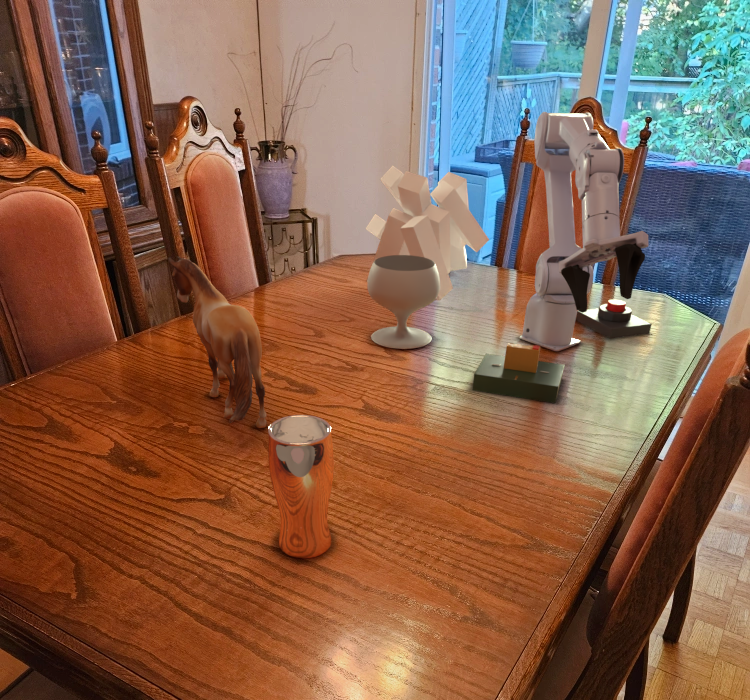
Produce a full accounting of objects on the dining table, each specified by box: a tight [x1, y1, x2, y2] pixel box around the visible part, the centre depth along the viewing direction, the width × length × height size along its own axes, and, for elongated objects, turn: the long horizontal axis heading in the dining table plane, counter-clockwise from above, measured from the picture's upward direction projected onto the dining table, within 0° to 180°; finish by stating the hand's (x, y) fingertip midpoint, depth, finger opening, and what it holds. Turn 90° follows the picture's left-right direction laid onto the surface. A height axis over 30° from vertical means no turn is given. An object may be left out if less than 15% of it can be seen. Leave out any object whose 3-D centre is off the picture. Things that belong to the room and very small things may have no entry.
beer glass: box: [267, 414, 335, 559], centre depth 74 cm, size 7×7×15 cm
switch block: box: [575, 303, 652, 340], centre depth 141 cm, size 12×10×4 cm
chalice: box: [366, 255, 440, 350], centre depth 129 cm, size 14×14×15 cm
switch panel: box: [472, 353, 565, 404], centre depth 115 cm, size 14×10×3 cm
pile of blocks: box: [364, 165, 490, 301], centre depth 159 cm, size 35×30×35 cm
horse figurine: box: [167, 256, 268, 429], centre depth 101 cm, size 31×8×21 cm, turn 26°
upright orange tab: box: [504, 342, 542, 373], centre depth 113 cm, size 6×2×4 cm, turn 71°
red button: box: [606, 299, 627, 312], centre depth 139 cm, size 4×4×2 cm
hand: (603, 304), depth 106 cm, fingers open, 7 cm apart
